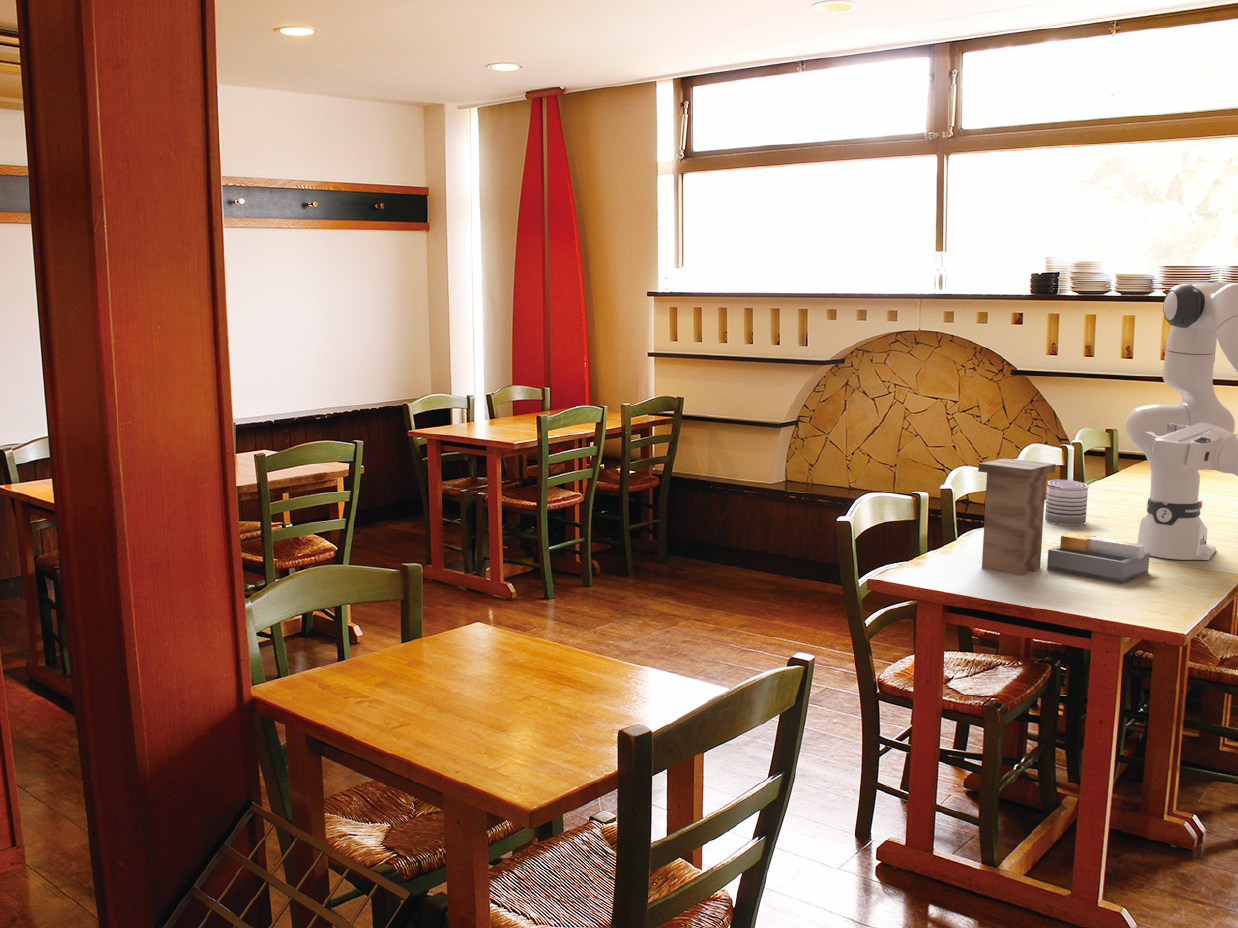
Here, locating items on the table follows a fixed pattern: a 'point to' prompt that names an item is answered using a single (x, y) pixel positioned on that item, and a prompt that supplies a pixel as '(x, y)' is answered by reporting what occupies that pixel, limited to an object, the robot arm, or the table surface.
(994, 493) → the post
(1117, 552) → the white and tan bar
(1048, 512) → the can
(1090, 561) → the tray
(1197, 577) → the table surface
